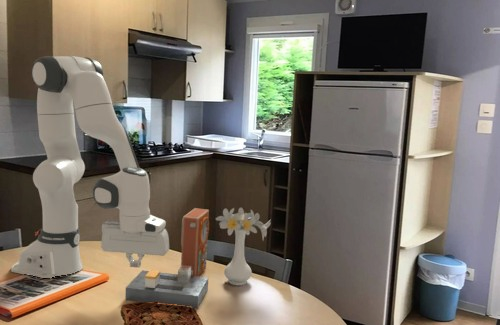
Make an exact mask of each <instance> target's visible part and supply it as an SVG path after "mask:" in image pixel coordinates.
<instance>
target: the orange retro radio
mask: <svg viewBox="0 0 500 325" xmlns="http://www.w3.org/2000/svg"><path fill="white" fill-rule="evenodd" d="M209 212H210V210H209V209H206V208H205V209H204V208H198V207H197V208H196V207H194V208H193V209H192V210H190V211H189V212H187V214H185V215H183V217H182V219H181V234H180V235H181V236H180V240H181V241H180V246H181V257H180V258H181V261H180V267H181V266H182V265H186V266H191V276H198V277H200V274H202V272H203V271H204V270H205V268H207V257H208V239H209V238H208V236H209V231H210V220H209V217H210V215H209V214H210V213H209Z"/></svg>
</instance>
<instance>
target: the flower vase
mask: <svg viewBox="0 0 500 325" xmlns="http://www.w3.org/2000/svg"><path fill="white" fill-rule="evenodd" d="M234 212H235V207H233V208H231V209H230V210H228V208H224V209H223V211H222V215H219V216H217V217H215V220H216V221H219V223H218V225H219V228H220V229H222V230H223V229H225V230H226V229H227V235H228V236H231V235H232V234H233V232H234V234H235V244H234V253H233V257H232V259H231V261H230V262H229V263H228V264H227V265H226V266H225V268H224V272H223V274H224V276H225V278H226V279H227V281H228V283H229V284H231V285H233V286H244V285H246V284H247V282H248V280H249V279H250V278H251V277H252V275H253V271H252V269H251V267H250V265H249V264H248V263H247V262H246V257H245V241H246V240H245V239H246V235H247V236H249V235H250V233H254V234H257V233H258V230H257V228H258V229H260V231H261V236H262V241H264V238H265V237H266V238H267V234H268V231H267V229H268V228H269V227H270V226H271V223H272V222H271V219H270V220H268V221H267V222H266V223H265V224H264V223H263V222H262V221H260V220H259V219H260V216H261V215H260V214H259V212H257V213H254V211H253V209H250V212H248V213H247V212H245V210H244V209H243V207H239V208H238V212H236V213H234ZM256 227H257V228H256Z"/></svg>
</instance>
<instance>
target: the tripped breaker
mask: <svg viewBox="0 0 500 325" xmlns="http://www.w3.org/2000/svg"><path fill="white" fill-rule="evenodd" d="M148 271H149V272H148V273H147V274H146V275H145V287H148V288H155V287H156V286H157V285H158V284H159V280H160V272H161V271H159V270H148Z"/></svg>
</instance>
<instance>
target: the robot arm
mask: <svg viewBox="0 0 500 325" xmlns="http://www.w3.org/2000/svg"><path fill="white" fill-rule="evenodd" d="M31 79H32V81H33V83H34V84H35V86H36V87H37V88H38V89H37V97H36V98H37V99H36V110H37V111H36V114H37V124H38V125H37V126H38V135H39V140H40V142H41V143H42V145H43V146H44V150H45V152H46V157H47V159H45V160H43V161H41V163H39V165H38V166H37V167H36V168H35V169H34V170H33V173H32V181H33V184H34V185H35V187H36V188H37V189H38V193H39V197H40V202H41V208H42V228H40V229H38V231H35V235H34V236H35V237H36V236H38V237H37V239H36V240H34V241H32V242H31V243H30V244H28V245H27V246H26V247H25V248H24V249H23V250H21V252H20V254H19V258H18V261H16V262H15V263H14V264H12V266H11V270H10V272H12V273H15V274H19V275H24V274H29V275H34V276H38V277H42V278H50V279H53V278H52V277H54V278H56V277H55V276H60V277H62V276H61V275H66V276H68V275H67V274H71V273H74V274H76V273H75V272H77V271H79V272H80V271H81V270H82V269H83V268H84V267H83V263H82V259H81V255H80V254H81V253H80V246H79V245H80V227H79V205H78V203H77V201H76V197H75V192H74V185H75V184H76V183H78V182H79V181H80V180H81V179H82V177H83V176H84V173H85V170H86V165H85V163H84V160H83V159H82V156H81V151H80V147H79V144H78V140H77V133H76V124H75V123H76V122H75V118H76V121H77V124H78V126H79V128H80V130H81V131H82V132H83V133H85V134H86V135H87V136H89V137H91V138H93V139H97V140H100V141H102V142H104V143H105V144H106V145H109V147H111V149H112V150H113V153H114V155H115V158H116V160H117V161H116V162H117V163H118V164H117V165H118V166H119V169H120V170H119V171H118V172H117V173H114V174H112V175H109V176H105V177H102V178H100V179H98V180H97V181H96V182H95V183H94V184H93V186H92V187H93V188H92V198H93V200H94V202H95V204H96V205H97V206H98V207H100V208H101V209H110V210H111V209H118V211H119V214H118V215H119V220H106V221H104V222H103V223H101V224H102V225H101V233H102V235H101V242H100V244H101V245H100V248H101V250H102V251H103V252H108V253H109V252H110V253H119V254H120V253H122V254H125V257H126V259H127V261H128V262H129V267H130V268H138V269H139V268H140V267H141V266H142V260H143V258H144V257H145V255H147V256H148V255H149V256H165V255H166V254H167V253H168V252H169V251H170V239H169V238H170V237H169V233H168V231H167V229H166V228H165V227H166V224H167V221H166V220H164V219H163V218H160V217H157V216H156V215H155V216H154V215H153V214H151V210H150V207H149V206H150V205H149V204H150V203H149V202H150V199H151V186H150V177H149V175H148V172H147V171H146V170H144V169H143V168H141V167H140V164H139V162H138V159H137V156H136V155H137V154H136V153H135V150H134V147H133V143H132V142H131V138H130V136H129V134H128V131H127V130H126V127H125V126H124V125H123V124H122V123H121V122H120V120H119V119H118V117H117V114H116V111H115V109H114V105H113V101H112V98H111V97H112V96H111V94H110V91H109V88H108V85H107V83H106V81H105V79H104V70H103V68H102V65H101V63H100V62H99V61H97V60H96V59H93V58H90V57H88V56H87V57H81V56H74V55H66V56H65V55H60V56H59V55H58V56H51V55H47V56H41V57H38V58H37V59H35V61H34V62H33V64H32V67H31ZM133 254H136V255H137V258H138V259H134V257H133ZM77 273H78V272H77ZM71 275H72V274H71ZM42 278H41V279H42Z"/></svg>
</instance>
